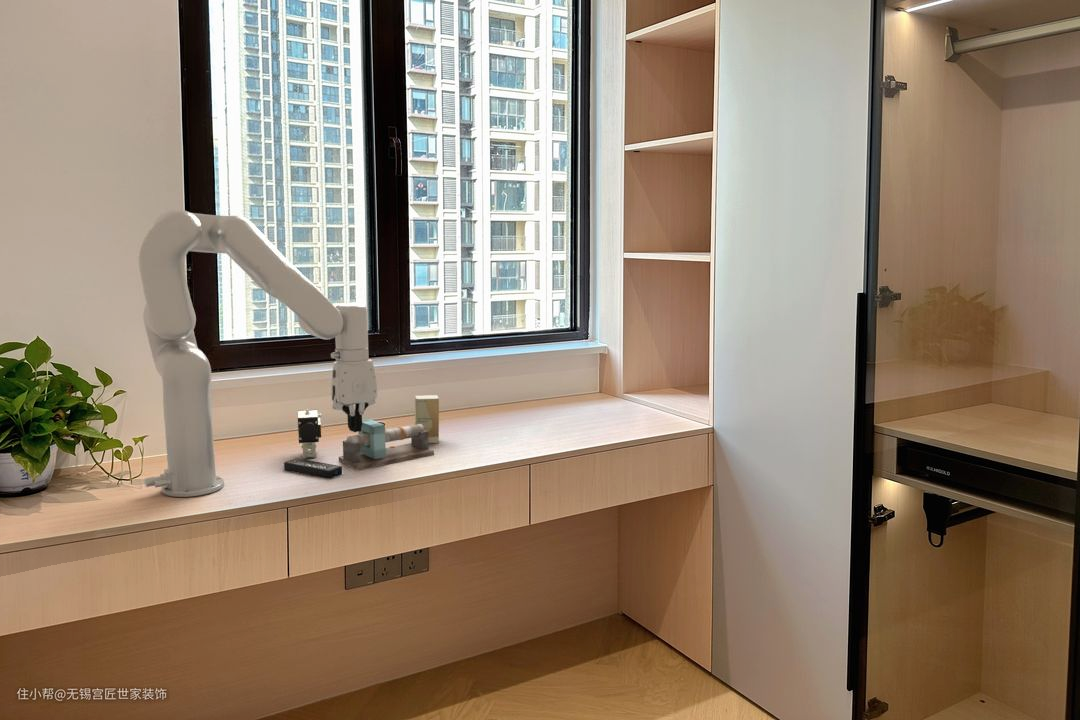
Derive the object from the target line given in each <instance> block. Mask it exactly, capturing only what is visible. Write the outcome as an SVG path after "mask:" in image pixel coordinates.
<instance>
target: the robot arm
mask: <svg viewBox="0 0 1080 720" xmlns="http://www.w3.org/2000/svg"><path fill="white" fill-rule="evenodd" d="M189 252H196V253H212V254H226V255H227V256H228V257H230V259H231V260H232V261H233V262H234V263H235V264H236V265H238V267H239V268H240V269H241V270H242V271H244V272H245V273H246V275H247V276H249V277H250V279H251V280H252V281H253V282H254V283H255V285H257V286H258V287H259V288H260V289H261V290H262V291H264V292H265V293H266V294H268V295H269V296H271V297H272V298H274V299H276V300H278V301H279V302H281V303H282V304H283V305H285V307H287V308H289V310H291V311H292V312H293V313H294V314H295V315H296V316H297V320H298V321H297V322H298V325H299V327H300V328H301V330H302V331H304V332H305V333H306V334H307V335H308V334H309V335H310V336H313V337H315V338H318V339H322V340H331V339H335V340H334V341H335V348H334V352H331V353H330V358H331V359H335V361H334V362H333V366H332V370H331V382H330V383H331V385H330V387H331V388H330V389H331V393H330V394H331V401H332V405H331V406H332V409H334V410H336V411H337V410H338V411H342V412H343V413H344V414H346V415H347V428H348V430H349V431H350V432H352V433H358V432H360V431H361V427H362V420H363V415H364V413H365V411H366V409H367V408H368V407H371V406H372V405H375V404H376V400H377V398H378V386H377V376H376V371H375V367H374V363H373V360H372V359H369V331H368V330H369V328H368V326H369V325H368V309H367V306H366V305H365V304H364V303H361V302H360V303H359V302H344V303H343V302H342V303H339V304H333V302H331V300H330V299H329V298H328V297H327V296H326V295H325V294H324V293H323V292H322V291H321V290H320V289H319V288H318V287H317V286H316V285H315V284H314V283H312V282H311V280H309V279H308V278H307V277H306V276H305V275H304V274H302V272H301V271H300V270H299V269H297V268H296V266H294V265H293V264H292V263H291V262H290V261H289V260H288V259H287V258H286V257H285V256H284V255H283V254H282V253H281V252H280V251H279V250H278V249H277V248H276V246H274V244H272V242H271V241H270V240H269V239H268V238H267V237H266V236H265V234H263V233H262V232H261V231H260V230H259V229H258V227H256V225H254V224H253V222H251V221H250V220H249V219H247V218H246V217H244V216H240V215H217V214H215V215H214V214H206V213H205V214H204V213H197V212H196V213H195V212H190V211H187V210H184V209H173V210H168V211H165V212H162V213H161V214H160V215H158V217H157V218H156V219H155V220H154V223H153V226H152V227H151V228H150V230H149V231H148V232H147V233H146V235H145V237H144V239H143V242H142V244H141V246H140V250H139V253H138V254H139V256H138V266H139V267H138V268H139V274H140V278H141V279H140V280H141V284H142V289H143V294H144V299H145V302H146V303H145V305H144V308H143V315H142V317H143V323H144V327H145V332H146V336H147V339H148V343H149V347H150V351H151V356H152V360H153V363H154V366H155V369H156V371H157V373H158V374H159V376H161V380H162V401H163V402H162V404H163V405H162V406H163V419H164V430H165V431H164V432H165V442H166V443H165V444H166V446H165V447H166V456H167V457H166V458H167V468H166V469H164V470H163V472H164V473H161V474H159V476H149V477H145V478H144V485H145V487H146V488H150V487H153V486H154V488H161V493H162V494H164V495H165V496H169V497H175V498H189V497H199V496H204V495H208V494H211V493H215V492H217V491H219V490H221V489H222V488H223V487H224V484H225V482H224V481H225V480H224V478H222V477H220V476H217V472H216V458H215V457H216V456H215V442H214V441H215V440H214V429H213V428H214V426H213V415H212V413H213V412H212V367H211V364H210V361H209V359H208V358H207V356H206V354H205V353H204V352H203V351H202V350H201V349H200V348H199V347H198V344H197V339H196V336H195V331H194V329H195V328H196V327H195V326H196V322H197V316H196V312H195V309H194V307H193V302H192V299H191V295H190V290H189V287H188V283H187V281H188V280H187V276H186V271H185V261H186V257H187V255H188V253H189Z"/></svg>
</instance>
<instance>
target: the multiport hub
mask: <svg viewBox="0 0 1080 720" xmlns="http://www.w3.org/2000/svg"><path fill="white" fill-rule="evenodd" d="M283 469H284V471H287V472H292V473H296V474H302V475H306V476H312V477H317V478H321V479H325V480H326V479H327V480H331V479H335V478H337V477H339V476H342V475H343V468H342V466H341V465H336V464H332V463H331V464H330V463H327V462H321V461H316V460H309V459H306V458H305V459H304V458H297V457H295V458H293V459H290V460H287V461H284V462H283Z"/></svg>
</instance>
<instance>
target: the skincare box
mask: <svg viewBox="0 0 1080 720" xmlns="http://www.w3.org/2000/svg"><path fill="white" fill-rule="evenodd" d="M439 413H440V398H439V395H437V394H436V395H434V394H433V395H414V425H418V424H422V425H423V427H424V430H426V431H428V444H439V443H440V439H439V435H440V433H439V432H440V431H439V429H440V428H439V427H440V426H439V425H440V414H439Z"/></svg>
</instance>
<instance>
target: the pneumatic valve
mask: <svg viewBox="0 0 1080 720" xmlns="http://www.w3.org/2000/svg"><path fill="white" fill-rule="evenodd" d="M321 418H322V413H321V412H320V413H319V412H318V409H309V408H307V409H305V410H304V409H303V410H301V409H300V410H297V431H298V444H301V449H302V454H301V455H302V456H301V457H302V459H305V460H306V459H307V458H314V459H315V458H317V456H318V455H317V454H318V453H317V443H319V442H320V441H319V440H320V438H322V425H321V424H322V423H321Z"/></svg>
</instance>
